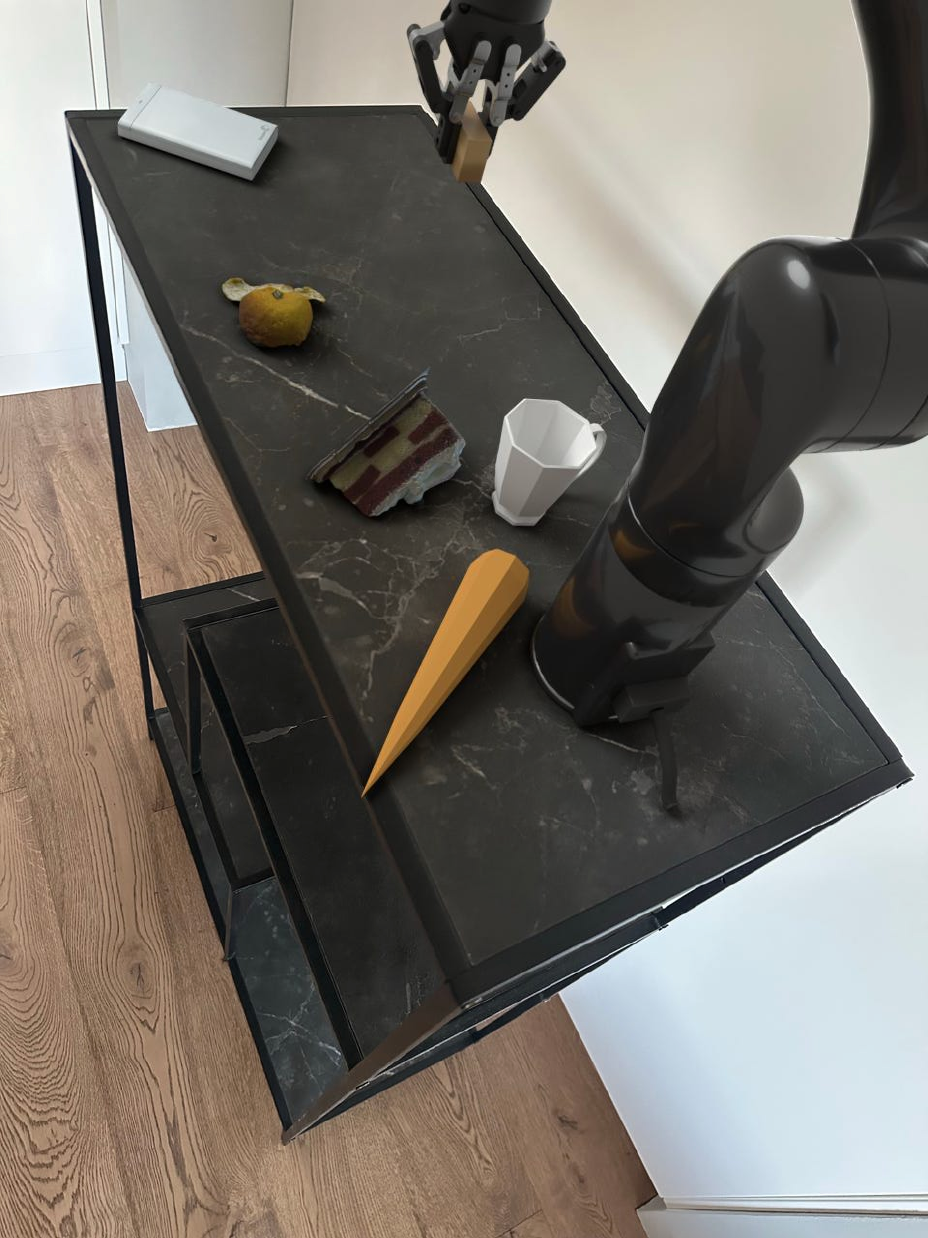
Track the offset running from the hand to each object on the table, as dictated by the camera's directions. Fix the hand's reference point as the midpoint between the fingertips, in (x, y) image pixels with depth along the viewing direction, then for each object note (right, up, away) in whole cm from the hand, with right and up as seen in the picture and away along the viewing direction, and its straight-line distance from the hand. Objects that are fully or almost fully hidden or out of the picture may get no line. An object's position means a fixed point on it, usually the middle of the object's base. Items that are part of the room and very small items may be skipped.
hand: (460, 158), depth 78 cm
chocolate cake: (-5, -29, -10) cm, 32 cm away
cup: (+6, -31, -8) cm, 32 cm away
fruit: (-15, -15, -4) cm, 21 cm away
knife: (-2, +4, +3) cm, 5 cm away
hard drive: (-18, +4, +7) cm, 20 cm away
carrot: (-2, -42, -21) cm, 47 cm away
